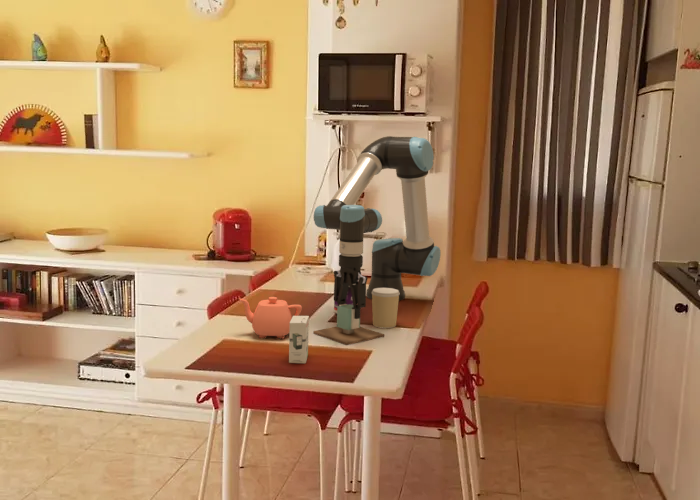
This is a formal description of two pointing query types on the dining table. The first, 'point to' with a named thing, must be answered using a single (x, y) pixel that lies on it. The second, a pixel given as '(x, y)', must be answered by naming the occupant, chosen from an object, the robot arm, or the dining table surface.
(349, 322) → the teal green block
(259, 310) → the teapot
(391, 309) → the coffee cup
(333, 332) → the post stand
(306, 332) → the ink box
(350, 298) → the pill bottle
